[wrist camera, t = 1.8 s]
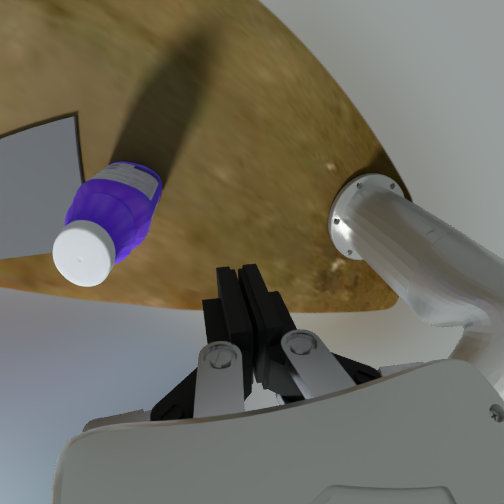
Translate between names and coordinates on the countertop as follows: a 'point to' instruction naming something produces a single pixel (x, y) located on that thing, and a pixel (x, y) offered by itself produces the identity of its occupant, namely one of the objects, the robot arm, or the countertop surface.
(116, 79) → the countertop surface
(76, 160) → the mat
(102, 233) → the bottle
